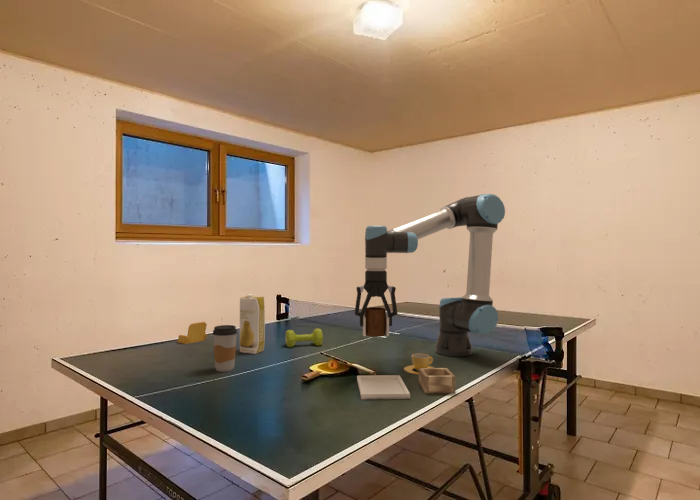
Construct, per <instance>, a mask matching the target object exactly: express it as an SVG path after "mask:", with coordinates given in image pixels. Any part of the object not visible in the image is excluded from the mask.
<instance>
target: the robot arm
mask: <svg viewBox="0 0 700 500" xmlns="http://www.w3.org/2000/svg"><path fill="white" fill-rule="evenodd" d="M439 209H440V210H439V211H436V212H433V213H431V214H428V215H426V216H423V217H421V218H418V219H416V220H412V221H410V222H407V223H405V224H403V225H399V226H397V227H394V228H392V229H389V230H388V229H387V226H386V225H368V226H366V227H365V232H364V233H365V235H364V243H365V245H364V247H365V249H364V252H365V254H364V255H365V257H364V258H365V260H364V262H365V263H364V267H365V272H364V276H365V277H364V279H365V281H364V284H363V285H361V286H356V293H357V294H356V299H355V308H354V316H358V317H359V325H360V327H362V336H363V337H366V317H365V316H364V314H365V311H366V309H367V308H368V306H369V303H370V301H371V299H372V298H375V297H377V298H381V301H382V303H383V306H384V308H385V309H386V334H385V336H386V337H389V336H390V327H392V326H393V317H394V316H398V308H397V300H396V295H395V294H396V289H397V288H396V287H395V286H393V285H392V286H390V285H388V280H387V279H388V276H387V275H388V271H387V268H388V267H387V266H388V265H387V264H388V259H387V257H388V254H390V253H391V254H410V253H414V252H416V251H417V249H418V246H419V240H421V239H422V238H425V237H428V236H430V235H432V234H435V233H438V232H441V231H442V230H446V229H448V230H452V229H454V228H457V227H466V230H467V231H468V232H469V245H468V246H469V247H468V257H467V258H468V260H467V261H468V262H467V274H466V293H465V294H463V296H462V297H461V296H460V297H444V298H443V297H442V298H441V299H440V300H439V307H438V308H439V331H438V332H439V334H438V336H437V338H436V339H437V340H436V343H435V345H434V351H435V353H436V354H439V355H442V356H447V357H468V356H471V355H473V346H472V343H471V339H470V337H469V333H472V334H474V335H480V336H483V335H484V336H485V335H488V334H490V333H492V331H493V330H495V329H496V328H497V325H498V322H499V312H498V311H497V309H496V307H494V306H493V303H494V302H493V301H494V300H493V298H492V297H491V296H490V285H491V269H492V268H491V267H492V251H493V238H494V233H496V231H498V224H500V223H501V222H502V221H503V219H504V218H505V215H506V207H505V204H504V202H503V200H501V198H500V197H499V196H497V194H492V193H482V194H479V195H474V196H466V197H463V198H460V199H458V200H456V201H454V202H451V203H449V204H447V205H445V206H442V207H441V208H439ZM364 290H365V292H366V293H367V294H366V297H365V300H364V302H363V305H362V307H361V309H360V306H361V305H360V304H361V299H362V293H363V291H364ZM387 290H388V292H389V293H390V300H391V306H392V311H391V308H390V305H389V303H388V301H387V298H386V296H385V293H386V291H387Z"/></svg>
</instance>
